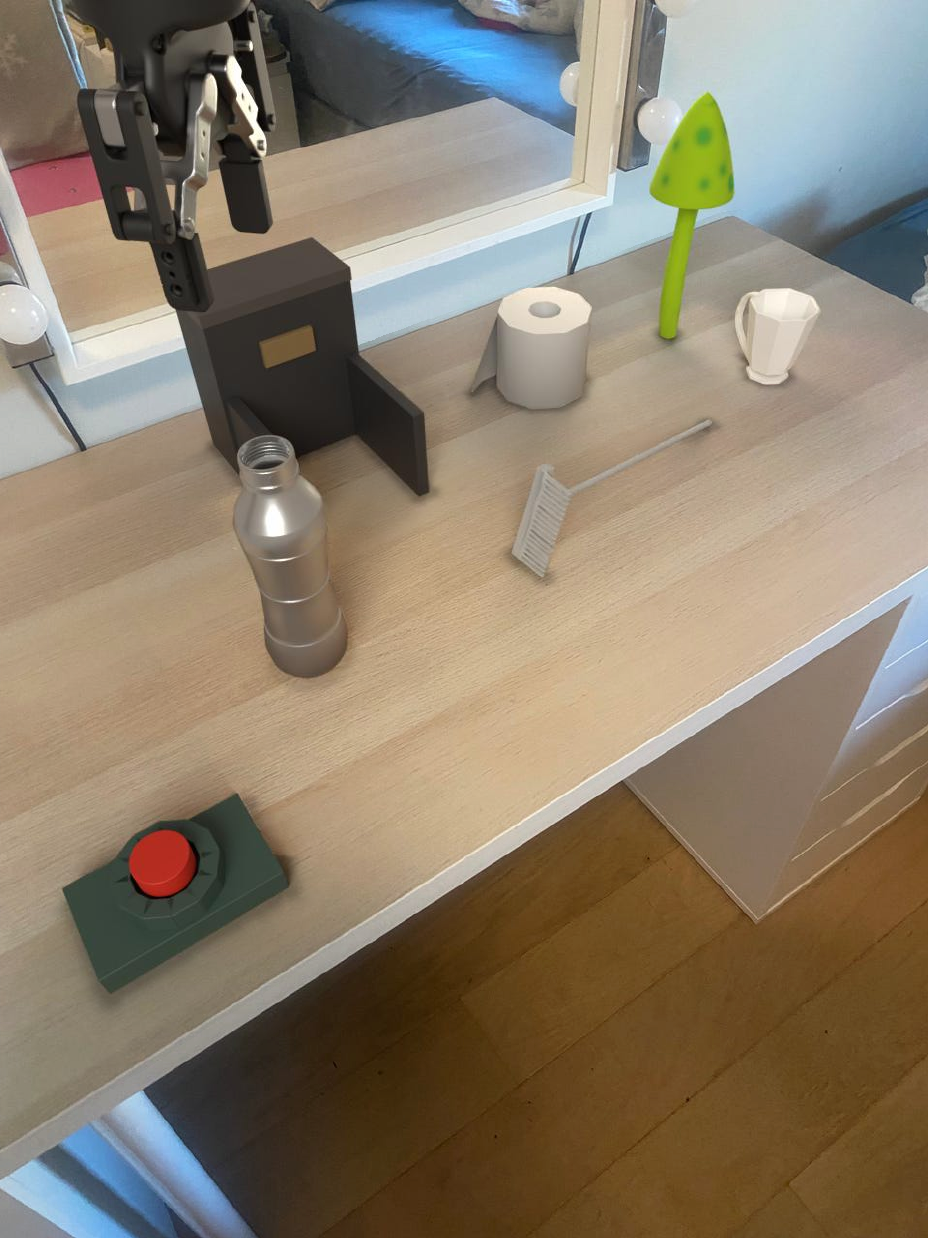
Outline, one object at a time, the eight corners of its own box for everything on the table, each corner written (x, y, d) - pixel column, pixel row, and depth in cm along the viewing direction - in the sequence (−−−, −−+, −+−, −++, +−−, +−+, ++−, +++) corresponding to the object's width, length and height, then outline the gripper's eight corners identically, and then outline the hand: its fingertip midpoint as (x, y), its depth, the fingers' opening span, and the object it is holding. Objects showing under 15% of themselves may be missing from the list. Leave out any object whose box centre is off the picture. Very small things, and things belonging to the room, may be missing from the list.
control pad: (110, 995, 54) (88, 970, 51) (73, 903, 58) (50, 875, 55) (289, 887, 58) (278, 858, 55) (243, 809, 62) (231, 778, 59)
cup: (759, 398, 93) (778, 328, 87) (704, 351, 99) (718, 282, 93) (814, 382, 95) (836, 311, 89) (757, 336, 101) (774, 268, 95)
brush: (717, 478, 92) (755, 400, 86) (541, 579, 76) (571, 493, 70) (688, 458, 94) (723, 380, 87) (510, 553, 78) (536, 467, 71)
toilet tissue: (452, 395, 95) (449, 321, 88) (544, 350, 100) (548, 277, 94) (508, 434, 90) (510, 359, 83) (602, 385, 95) (610, 310, 89)
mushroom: (713, 323, 103) (762, 82, 85) (694, 360, 98) (742, 112, 80) (643, 309, 106) (676, 71, 87) (620, 344, 101) (651, 100, 82)
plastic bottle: (267, 692, 69) (207, 491, 54) (273, 627, 73) (218, 424, 58) (352, 686, 69) (314, 483, 54) (352, 621, 73) (318, 417, 59)
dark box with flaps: (433, 490, 84) (423, 324, 71) (298, 551, 79) (262, 383, 66) (335, 396, 95) (312, 236, 82) (211, 443, 90) (165, 281, 77)
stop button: (149, 908, 53) (141, 895, 52) (128, 862, 55) (120, 849, 54) (205, 876, 55) (198, 863, 53) (183, 833, 57) (175, 819, 55)
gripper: (128, -159, 40) (210, 204, 52) (-55, -92, 31) (96, 331, 43) (285, -158, 39) (333, 213, 51) (144, -88, 30) (242, 345, 42)
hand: (224, 266), depth 47 cm, fingers open, 8 cm apart
